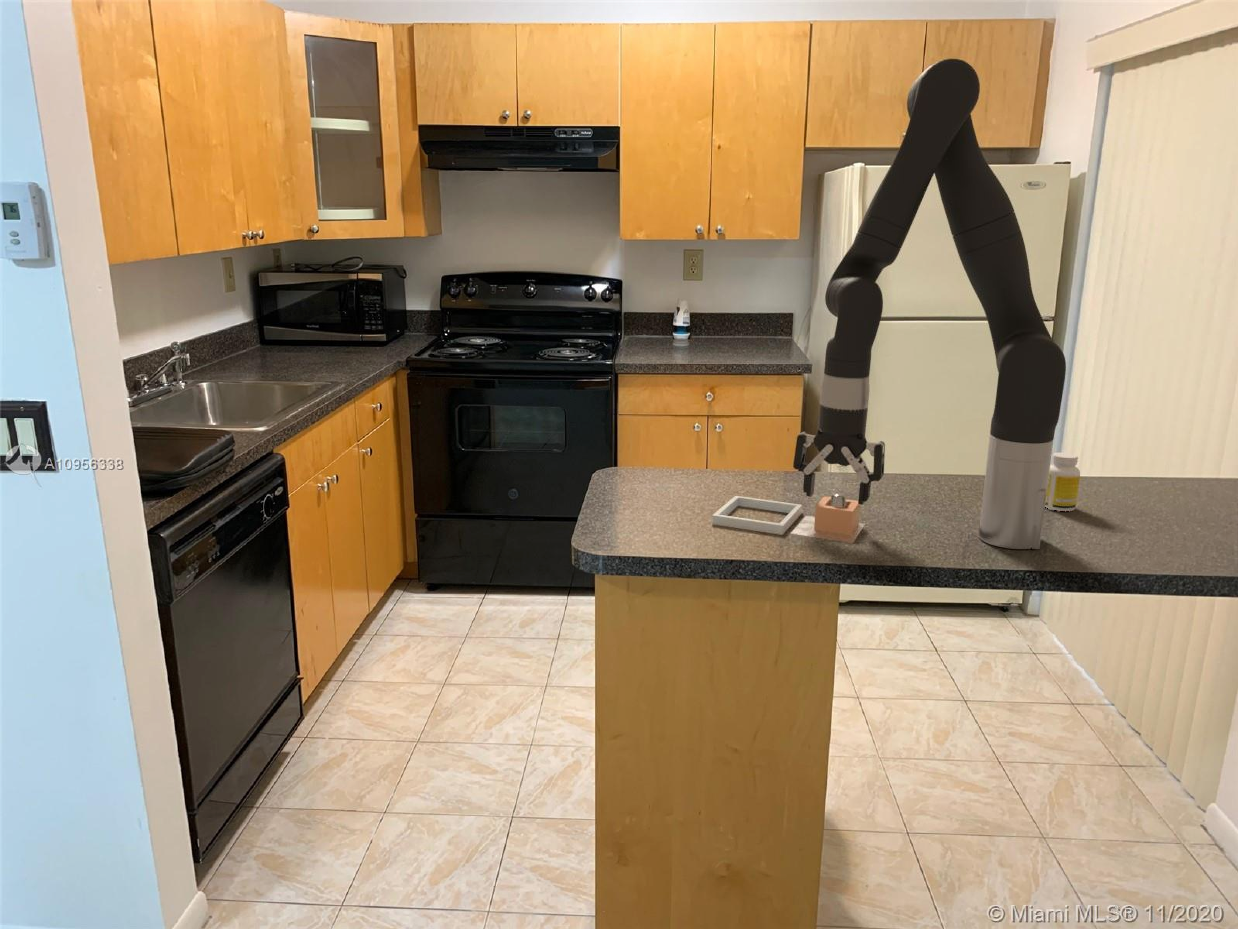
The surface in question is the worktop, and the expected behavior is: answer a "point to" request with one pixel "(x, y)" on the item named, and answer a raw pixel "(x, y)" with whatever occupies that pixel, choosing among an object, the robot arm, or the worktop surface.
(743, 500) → the tray
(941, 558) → the worktop surface
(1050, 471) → the supplement bottle
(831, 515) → the ring
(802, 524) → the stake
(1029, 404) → the robot arm
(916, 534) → the worktop surface
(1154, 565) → the worktop surface
